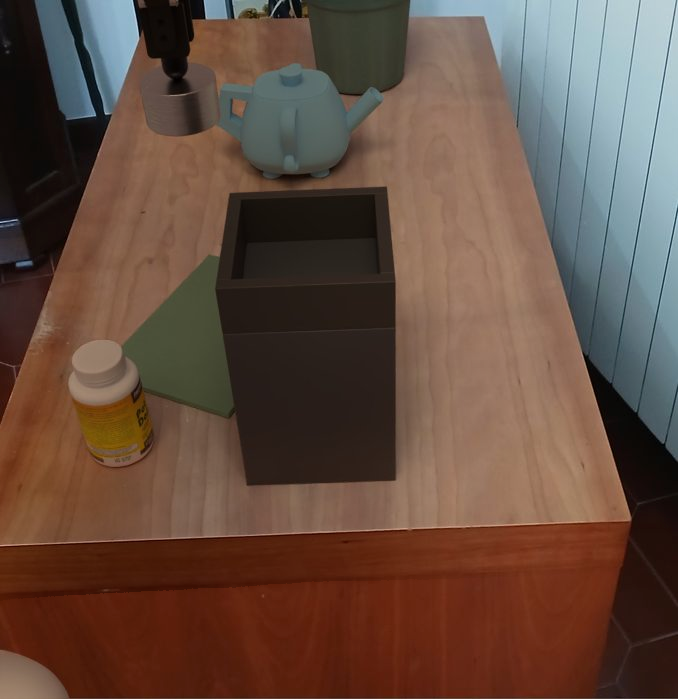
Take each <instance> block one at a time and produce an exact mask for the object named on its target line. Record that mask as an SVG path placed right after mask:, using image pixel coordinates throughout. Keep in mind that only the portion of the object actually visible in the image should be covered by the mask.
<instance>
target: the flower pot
mask: <svg viewBox="0 0 678 699" xmlns="http://www.w3.org/2000/svg"><path fill="white" fill-rule="evenodd" d="M305 4H306V11H307V16H308V24H309V28H310V35H311V41H312V42H311V43H312V49H313V54H314V61H315V68H316V69H315V70H319V71H322V72H324V73H326V74H327V75H328V76H329V78H330V79H331V80H332V82H333V84H334V85H335V87H336V89H337V91H338V92H339V94H346V95H364V93H365V92H366V91H367V90H368V89H369V88H370V87H373V88H375V89H376V90H378V91H379V92H380V93H381V92H383V91H386V90H388V89H391V88H392V87H395V86H396V85H397V84H399V83H400V82H401V80H402V79H403V78H404V74H405V67H406V66H405V64H406V55H407V54H406V53H407V44H408V33H409V32H408V31H409V19H410V12H411V10H410V9H411V0H305Z"/></svg>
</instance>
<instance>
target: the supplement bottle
mask: <svg viewBox="0 0 678 699" xmlns="http://www.w3.org/2000/svg"><path fill="white" fill-rule="evenodd" d="M121 346H122V345H120V344H119V343H118V342H116V341H115V340H111V339H95V340H92V341H87V342H86V343H84V344H82V345H81V346H80V347H78V348H77V349H76V350H75V352H74V353H73V354H72V357H71V365H72V368H73V369H72V372H71V373H70V375H69V378H68V382H67V385H68V386H67V387H68V391H69V394H70V397H71V400H72V403H73V407H74V409H75V410H74V411H75V413H76V415H77V419H78V422H79V425H80V428H81V431H82V435H83V437H84V440H85V443H86V447H87V450H88V452H89V455H90V456H91V457H92V458H93V460H94V461H95V462H96V463H98V464H100V465H102V466H105V467H110V468H120V467H126V466H129V465H132V464H134V463H135V464H136V462H138V461H140V460H142V459H143V458H145V456H146V455H147V454H148V453H149V452H150V450H151V448H152V446H153V444H154V441H155V433H154V428H153V424H152V420H151V417H150V412H149V409H148V404H147V399H146V395H145V391H143V387H142V383H141V379H140V375H139V372H138V369H137V367H136V365H135V364H134V362H133V361H131V360H130V359H129V358H127V357H125V356H124V354H123V350H122V348H121Z"/></svg>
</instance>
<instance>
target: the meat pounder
mask: <svg viewBox="0 0 678 699" xmlns="http://www.w3.org/2000/svg"><path fill="white" fill-rule="evenodd" d="M160 62H161V63H160V64H161V65H159V66H156V67H153V68H152V69H149V70H147V71H146V72H145V73H143V74H142V76H141V77H140V78H139V80H138V86H139V92H140V97H141V101H142V106H143V111H144V118H145V123H146V126H147V128H148V129H149V130H150V131H151V132H153V133H155V134H158V135H161V136H165V137H189V136H194V135H197V134H201V133H203V132H206V131H208V130H211V128H213V127H216V126H217V125H216V124H217V123H218V121H219V120H220V117H221V112H220V104H219V91H218V90H219V89H218V84H217V75H216V72H215V70H214V69H213V68H212V67H210V66H208V65H206V64H202V63H199V62H190V61H188V57H181V58H160Z"/></svg>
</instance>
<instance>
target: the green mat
mask: <svg viewBox="0 0 678 699" xmlns="http://www.w3.org/2000/svg"><path fill="white" fill-rule="evenodd" d="M219 259H220V256H217V255H213V254H208V255H207V256H205V258H204V259H203V260H202V261H201V262H200V263H199V265H197V266H196V267H195V268H194V270H192V272H191V273H190V274H189V275H187V277H186V278H185V279H184V280H183V281H182V282H181V283H180V284H179V285H178V286H177V287H176V288H175V290H173V292H172V293H170V294H169V296H168V297H167V298H166V299H165V300H164V301H163V302H162V303H161V304H160V305H159V306H158V307H157V308H156V309H155V310H154V311H153V312H152V313H151V315H149V316H148V318H146V320H145V321H144V322H143V323H142V324H141V325H140V326H139V327H138V328H137V329H136V330H135V331H134V332H133V333H132V335H130V336H129V338H127V339H126V341H124V343H123V344H122V345H120V346H121V348H122V350H123V354H124V356H125V357H127V358H129V359H130V360H131V361H133V362H134V364H135V365H136V367H137V369H138V372H139V375H140V379H141V383H142V387H143V391H144V393H148V394H151V395H154V396H157V397H160V398H164V399H167V400H170V401H172V402H176V403H179V404H182V405H186V406H188V407H192V408H195V409H199V410H201V411H204V412H207V413H211V414H214V415H217V416H220V417H222V418H226V419H230V418H231V416H232V415H233V414H234V413H235V408H234V402H233V396H232V390H231V384H230V377H229V371H228V365H227V359H226V353H225V347H224V341H223V333H222V329H221V322H220V316H219V310H218V304H217V298H216V292H215V285H216V279H217V272H218V266H219Z"/></svg>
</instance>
